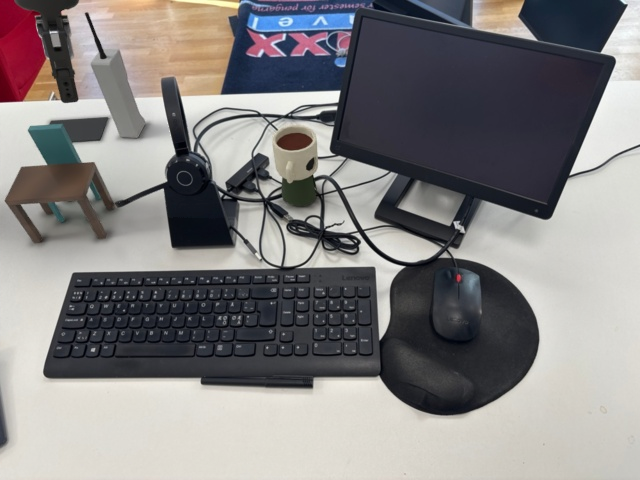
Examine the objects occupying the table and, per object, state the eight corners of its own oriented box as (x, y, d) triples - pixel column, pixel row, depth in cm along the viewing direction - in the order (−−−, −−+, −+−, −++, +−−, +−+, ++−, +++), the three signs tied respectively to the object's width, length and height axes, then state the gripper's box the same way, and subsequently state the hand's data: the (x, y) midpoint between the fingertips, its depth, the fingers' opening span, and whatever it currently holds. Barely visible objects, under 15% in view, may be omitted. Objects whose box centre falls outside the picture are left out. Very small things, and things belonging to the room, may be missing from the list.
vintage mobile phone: (146, 123, 108) (103, 3, 89) (138, 138, 105) (92, 17, 86) (129, 123, 108) (82, 3, 89) (120, 138, 105) (70, 17, 86)
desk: (33, 243, 87) (4, 200, 80) (47, 209, 92) (21, 166, 85) (105, 238, 87) (82, 195, 80) (115, 204, 92) (94, 161, 85)
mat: (40, 144, 105) (40, 143, 105) (51, 121, 110) (51, 120, 110) (100, 140, 105) (99, 139, 105) (108, 118, 110) (107, 116, 110)
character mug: (313, 221, 88) (309, 162, 78) (273, 216, 89) (264, 158, 79) (324, 177, 95) (322, 118, 85) (287, 174, 96) (280, 115, 86)
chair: (101, 196, 94) (65, 123, 82) (93, 220, 90) (54, 147, 78) (68, 198, 94) (27, 125, 82) (59, 222, 90) (14, 150, 78)
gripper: (4, -53, 67) (36, 68, 77) (4, -19, 57) (41, 114, 68) (67, -53, 69) (90, 65, 80) (77, -20, 60) (102, 108, 71)
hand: (67, 87), depth 74 cm, fingers open, 8 cm apart
